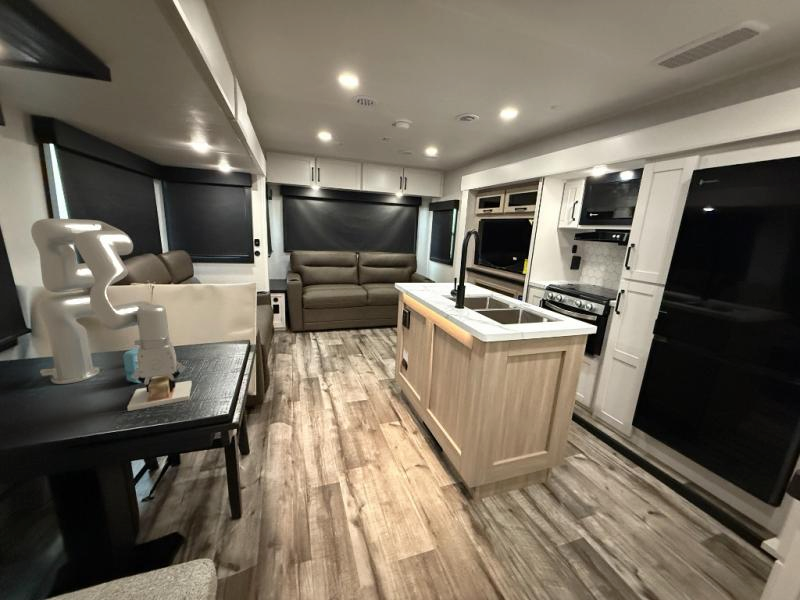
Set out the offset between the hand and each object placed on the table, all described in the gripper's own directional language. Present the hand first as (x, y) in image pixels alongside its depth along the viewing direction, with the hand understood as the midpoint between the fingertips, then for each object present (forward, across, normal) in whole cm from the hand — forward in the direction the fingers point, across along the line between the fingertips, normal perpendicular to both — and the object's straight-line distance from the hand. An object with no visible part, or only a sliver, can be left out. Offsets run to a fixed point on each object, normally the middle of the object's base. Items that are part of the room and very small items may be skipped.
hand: (161, 391), depth 105 cm
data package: (+2, -7, +19) cm, 20 cm away
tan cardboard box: (0, 0, 0) cm, 0 cm away
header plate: (+2, 0, 0) cm, 2 cm away
